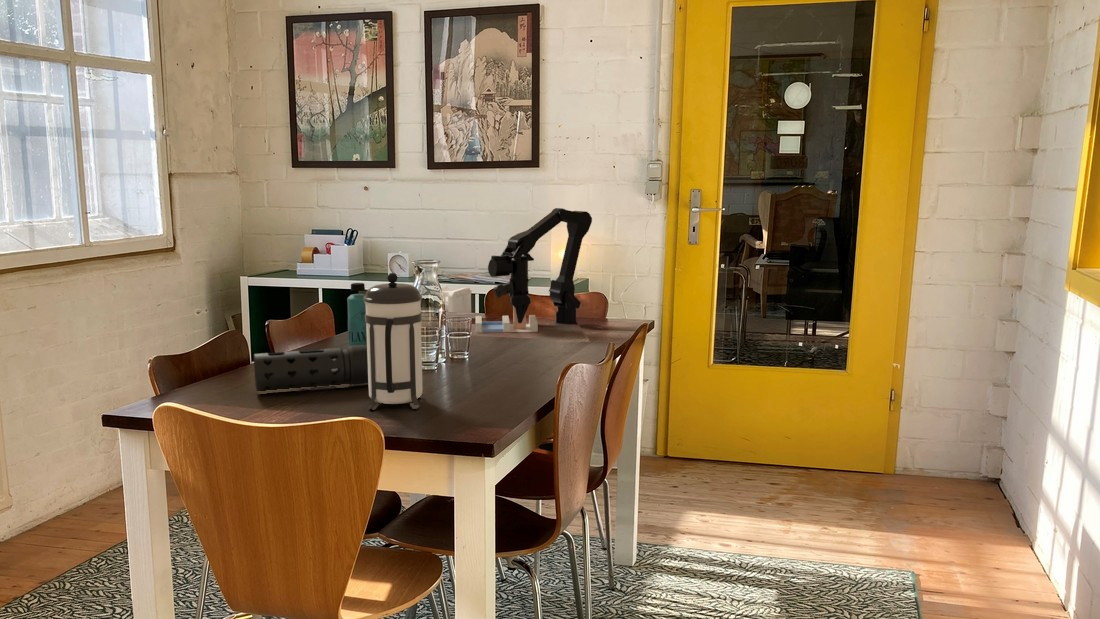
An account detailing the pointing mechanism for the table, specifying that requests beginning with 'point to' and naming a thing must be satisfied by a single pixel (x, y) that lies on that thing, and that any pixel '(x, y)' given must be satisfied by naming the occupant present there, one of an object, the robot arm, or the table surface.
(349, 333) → the beverage bottle
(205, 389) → the table surface
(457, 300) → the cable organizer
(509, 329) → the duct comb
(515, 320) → the pinkish tan block
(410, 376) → the coffee press
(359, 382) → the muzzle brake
